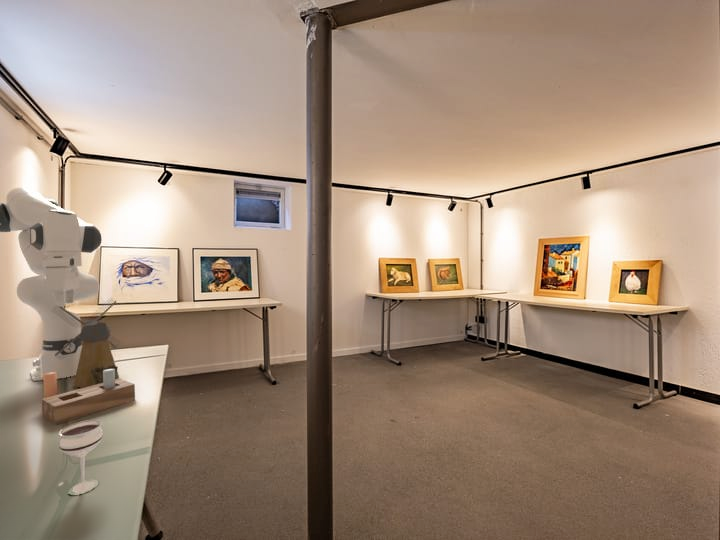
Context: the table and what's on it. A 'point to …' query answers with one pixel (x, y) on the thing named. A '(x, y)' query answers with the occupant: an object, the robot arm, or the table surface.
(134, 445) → the table surface
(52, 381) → the peg
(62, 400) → the peg block
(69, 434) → the wineglass
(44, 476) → the table surface
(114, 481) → the table surface
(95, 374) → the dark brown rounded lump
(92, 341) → the windmill
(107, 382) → the seated peg
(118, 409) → the table surface
